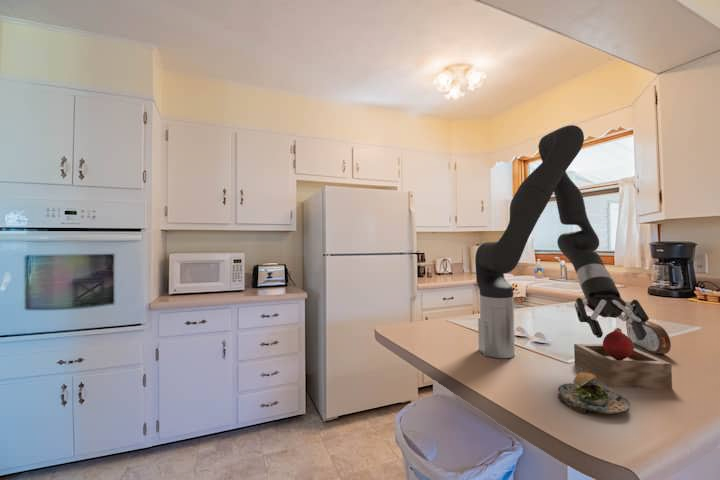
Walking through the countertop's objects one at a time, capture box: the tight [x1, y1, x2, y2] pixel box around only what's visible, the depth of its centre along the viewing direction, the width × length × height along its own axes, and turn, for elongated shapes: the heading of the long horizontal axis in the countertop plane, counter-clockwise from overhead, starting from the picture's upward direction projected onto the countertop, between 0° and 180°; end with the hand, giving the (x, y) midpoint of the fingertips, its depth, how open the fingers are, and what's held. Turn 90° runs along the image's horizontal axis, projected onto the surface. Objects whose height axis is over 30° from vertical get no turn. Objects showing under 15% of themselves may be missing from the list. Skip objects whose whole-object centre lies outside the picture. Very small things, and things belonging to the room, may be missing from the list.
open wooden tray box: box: [573, 343, 673, 390], centre depth 75 cm, size 13×13×6 cm
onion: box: [602, 327, 635, 360], centre depth 75 cm, size 6×6×8 cm
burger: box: [557, 365, 630, 415], centre depth 62 cm, size 12×12×8 cm
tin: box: [625, 320, 672, 355], centre depth 93 cm, size 15×3×8 cm, turn 168°
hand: (620, 337), depth 74 cm, fingers open, 8 cm apart
